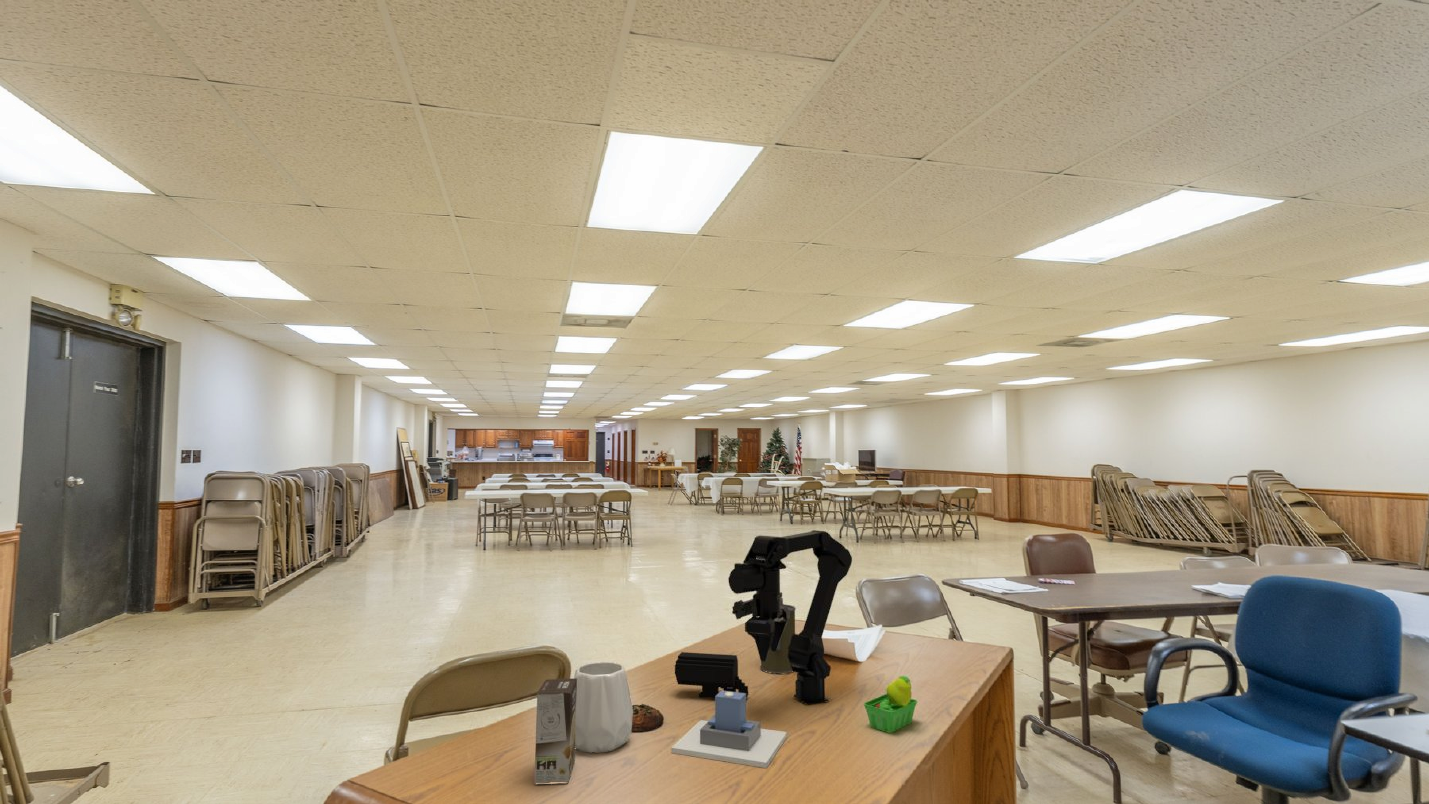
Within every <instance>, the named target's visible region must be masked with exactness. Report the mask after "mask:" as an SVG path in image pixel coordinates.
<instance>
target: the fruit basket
mask: <svg viewBox="0 0 1429 804" xmlns="http://www.w3.org/2000/svg"><path fill="white" fill-rule="evenodd" d="M885 689H886V690H885V691H886V693H883V694H882V695H880V696H877V697H875V698H872V699H871V700H868V701H866V702H863V706H864V708H865V710H866V713H867V717H868V720H869V724H870V725H869V726H870V727H871V728H873V729H876V730H879V731H883V732H885V733H889V734H892V733H894V732H896V731H898V730H900V729H901V728H904V727H906V726H908V725H910V724H912V721H913V716H914V712H915V708H916V705H917V703H918V700H917V699H913V698H912V683H911V679H910V678H909V677H908V676H905V675H899V677H898V678H896V679H895V680H893V681H892V682H890V683H889V684H888V685H887V686H886V688H885Z"/></svg>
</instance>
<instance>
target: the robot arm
mask: <svg viewBox="0 0 1429 804" xmlns="http://www.w3.org/2000/svg"><path fill="white" fill-rule="evenodd" d="M810 549H812V552H813V553H812V554H813V555H814V556H815V557H816V559H817V564H816V565H817V571H818V575H819V577H818V580H817V583H816V584H817V585H816V586H815V590H814V594H813V596H812V599H811V603H810V606H809V610H808V613H807V616H806V618H805V622H804V626H803V627H802V630H800V632H799V633H798V634H796V633H795V634H793V635H792V637H791V642H790V645H789V647H788V648H787V649H788V650H789V651H788V658H789V662H790V665H791V668H792V671H793V672H792V673H796V680H795V683H794V684H795V694H794V695H793V698H795V699H797V700H798V701H800V702H801V703H803V704H805V705H806V706H807V705H813V704H820V703H826V702H829V699H828V697H826V690H825V687H826V684H825V683H826V682H825V679H827V677H830V675H831V674H830V673H831V669H832V668H831V666H830V665H829V663H828V662H827V661H826V660H825V658H824V655H825V647H824V642H823V634H824V631H825V627H826V624H827V621H828V618H829V614H830V611H831V608H832V606H833V605H832V603H833V601H834V597H835V594H836V591H837V588H838V584H839V583H840V582H841V581H842V580H843V579H844V578H846V576H847V575H848V573H849V570H850V569H851V565H852V562H853V557H852V554H851V552H850V551H849V549H847V548H846V546H844V545H843V544H842V543H841V542H839V541H837V540H836V539H835V538H833V537H832V536H831V534H830V533H829V532H828V531H826V530H814V529H813V530H811V531H807V532H802V533H796V534H790V535H786V536H772V535H756V537H754V539H753V542H752V544H751V546H750V548H749V550H748V552H747V554H746V556H745V557H744V560H743V561H742V563H740V562H736V563H734V564H733V565H734V568H733V569H732V570H731V571H730V574H729V576H728V579H727V581H728V585H729V588H730V590H731V591H732V592H733V593H734V594H735V595H739V594H745V593H752V592H755V593H754V594H752V598H751V599H749V600H746V601H743V600H742V599H740V600H737V601H734V603H733V606H732V607H731V608H732V612H731V613H732V614H733V615H735V618H736V620H740V619H742V618H743V617H746V616H750V615H751V616H752V617H749V618H748V619H747V621H745V623H744V631H745V633H747V635H748V636H751V637H752V639H754V642H755V644H756V645H755V646H756V648H757V652H758V656H759V658H760V662H761V661H764V662H765V661H766V659H767V656H768V652H769V649H770V646H771V651H774V652H775V651H776V650H777V647H778V645H779V642H780V640H781V637H782V635H783V632H784V630H785V627H786V625H787V623H788V619H789V618H790V610H789V609H788V608H787V607H786V606H780V598H781V597H782V598H783V592H781V573H780V572H781V570H784V569H785V570H786V569H787V565H786V564H785V563H784V562H782V560H783V559H786V558H787V557H788V555H790V554H792V553H795V552H800V551H805V550H810ZM783 617H784V618H785V620H783Z"/></svg>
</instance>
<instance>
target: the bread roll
mask: <svg viewBox="0 0 1429 804" xmlns="http://www.w3.org/2000/svg"><path fill="white" fill-rule="evenodd" d="M632 708H633V718H632V730H631V733H632V732H633V733H634V732H648V731H650V732H651V731H653V730H656V729H658V728H660V727H662V726H663V724H664V721H665V718H664V717H665V716H664V715H663V714H662V712H660V710H659V709H657V708H655V707H653V706H650V705H649V704H645V703H641V704H632Z"/></svg>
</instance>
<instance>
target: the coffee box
mask: <svg viewBox="0 0 1429 804" xmlns="http://www.w3.org/2000/svg"><path fill="white" fill-rule="evenodd" d="M576 696H577V679H576V678H575V679H574V678H572V677H571V678H570V677H569V678H555V679H554V678H552V679H545V681H544V682H543V684H542V685H541V687H540V688H539V689H538V690H537V693H536V718H535V719H536V720H535V721H536V722H535V723H536V725H535V748H534V749H535V753H534V755H535V756H534V758H535V759H534V780H533V781H534V782H533V783H534V784H536V783H550V782H568V783H569V782H570V779H571V776H570V775H572V773H573V769H574V767H575V763H576V749H575V736H576Z"/></svg>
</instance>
